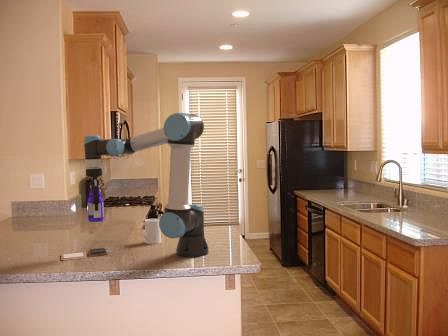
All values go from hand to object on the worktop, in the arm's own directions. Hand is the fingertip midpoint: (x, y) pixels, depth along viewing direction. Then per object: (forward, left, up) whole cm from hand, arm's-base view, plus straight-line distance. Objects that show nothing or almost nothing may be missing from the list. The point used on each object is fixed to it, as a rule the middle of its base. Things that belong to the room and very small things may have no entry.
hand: (96, 216), depth 217 cm
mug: (+12, -28, -18) cm, 36 cm away
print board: (0, +11, -18) cm, 21 cm away
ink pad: (0, 0, -18) cm, 18 cm away
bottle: (0, 0, -3) cm, 3 cm away
